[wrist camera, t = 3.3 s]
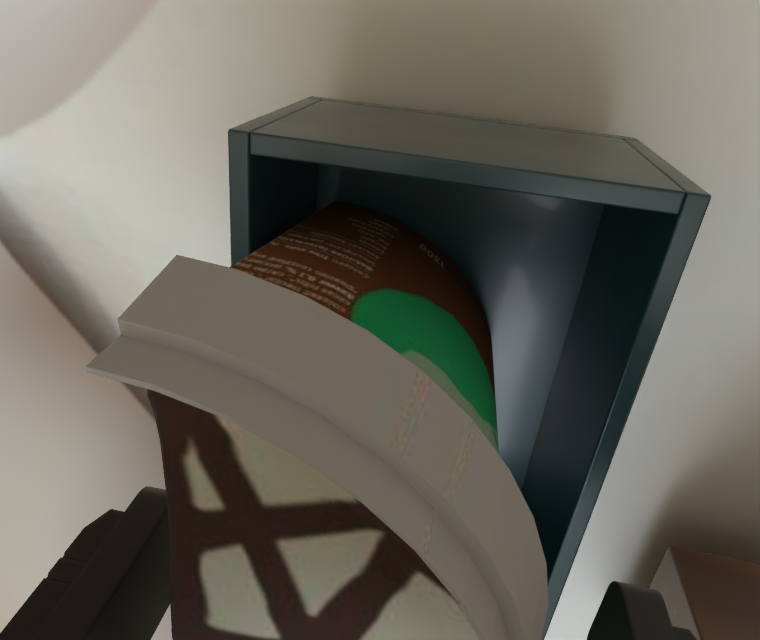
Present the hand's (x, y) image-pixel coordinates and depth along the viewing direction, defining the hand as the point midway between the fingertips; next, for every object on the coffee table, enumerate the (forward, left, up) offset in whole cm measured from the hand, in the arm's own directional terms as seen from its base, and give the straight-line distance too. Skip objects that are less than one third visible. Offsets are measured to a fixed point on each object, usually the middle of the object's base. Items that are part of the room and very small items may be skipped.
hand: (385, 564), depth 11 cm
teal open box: (0, 0, -8) cm, 8 cm away
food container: (0, 0, -7) cm, 7 cm away
